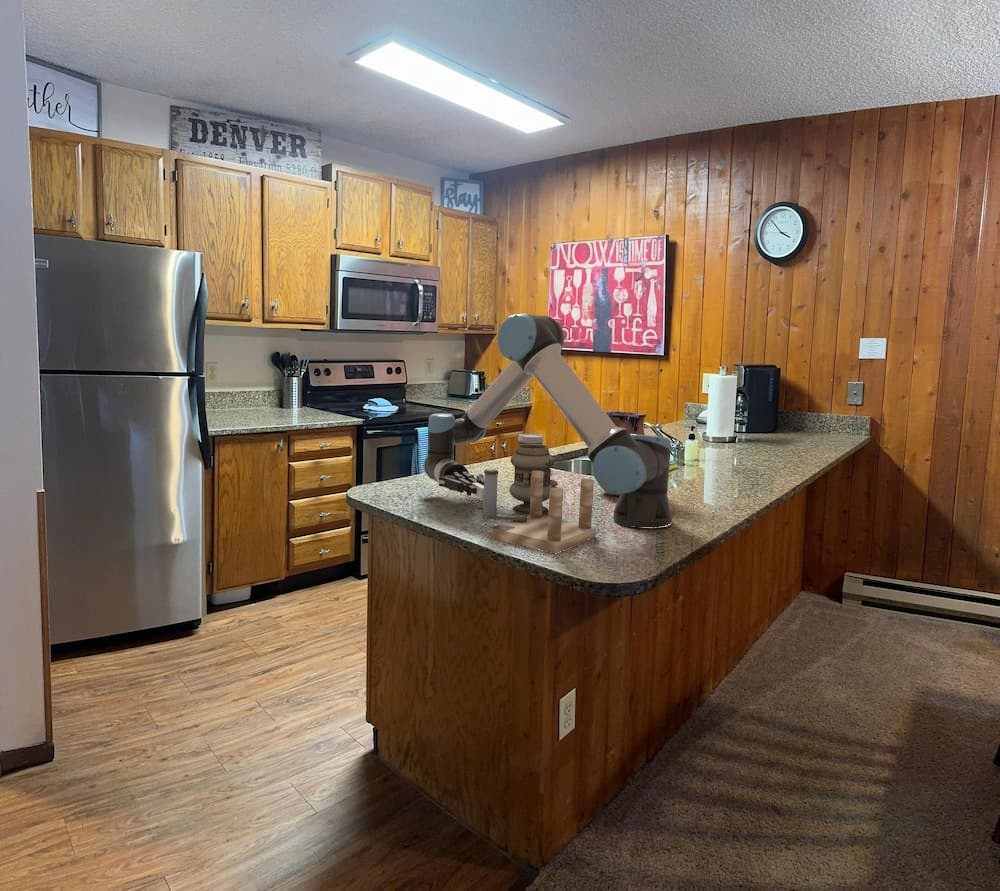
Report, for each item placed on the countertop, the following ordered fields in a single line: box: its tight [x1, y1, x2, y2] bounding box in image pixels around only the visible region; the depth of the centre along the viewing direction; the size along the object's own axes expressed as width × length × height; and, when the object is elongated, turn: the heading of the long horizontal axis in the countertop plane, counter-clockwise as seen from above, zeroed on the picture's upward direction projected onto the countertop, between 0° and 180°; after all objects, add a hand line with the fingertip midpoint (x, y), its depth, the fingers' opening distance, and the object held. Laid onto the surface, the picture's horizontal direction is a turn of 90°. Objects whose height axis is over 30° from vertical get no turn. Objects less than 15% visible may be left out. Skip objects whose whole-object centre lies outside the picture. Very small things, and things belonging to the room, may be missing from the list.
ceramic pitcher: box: [597, 410, 647, 497], centre depth 218 cm, size 18×21×25 cm
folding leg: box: [482, 468, 528, 521], centre depth 172 cm, size 11×3×12 cm, turn 84°
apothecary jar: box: [508, 444, 555, 516], centre depth 192 cm, size 12×12×18 cm
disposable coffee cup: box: [517, 433, 545, 445], centre depth 254 cm, size 10×10×12 cm
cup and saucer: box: [549, 468, 559, 488], centre depth 223 cm, size 12×12×6 cm
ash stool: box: [490, 470, 597, 554], centre depth 167 cm, size 18×18×14 cm
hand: (484, 493), depth 174 cm, fingers closed
